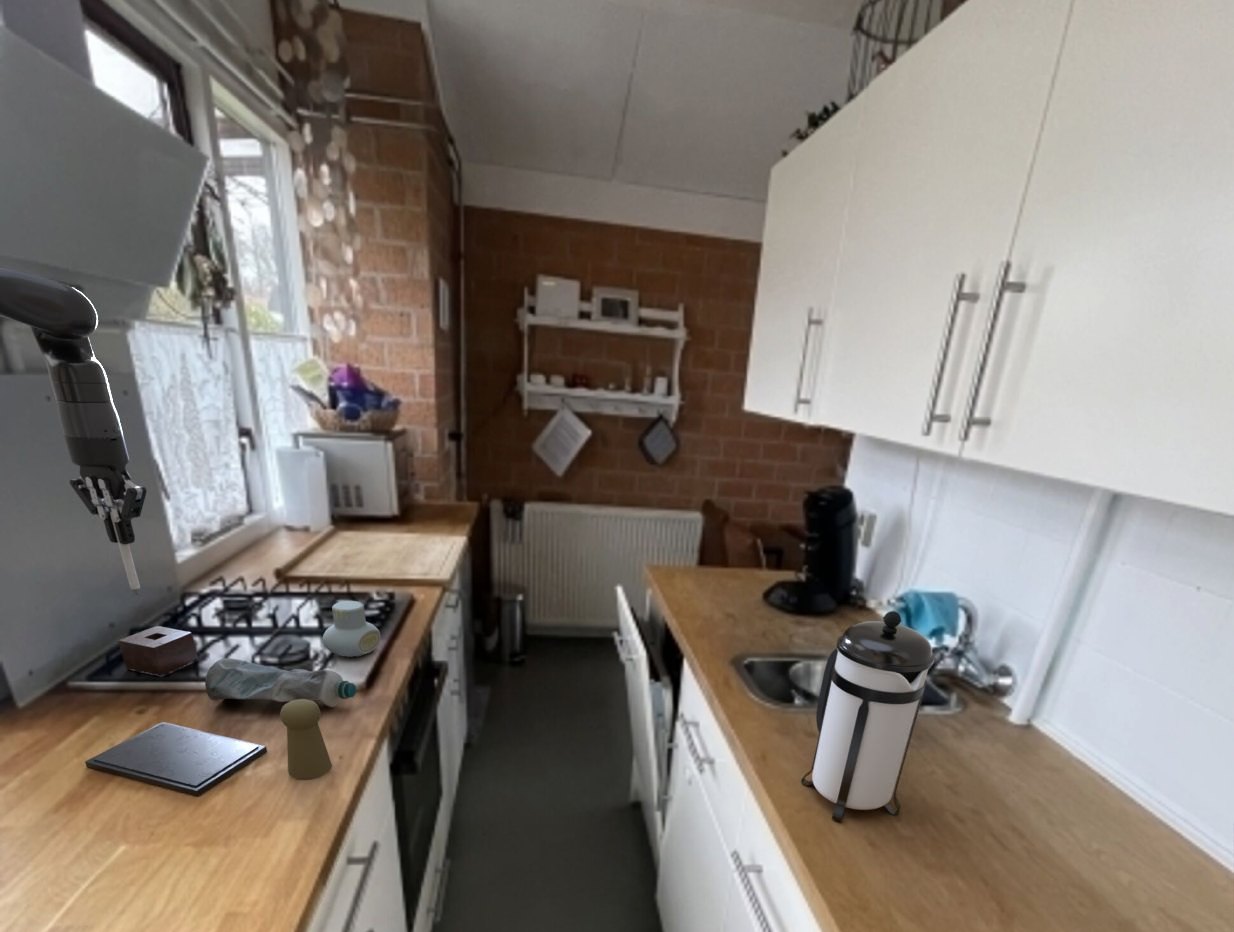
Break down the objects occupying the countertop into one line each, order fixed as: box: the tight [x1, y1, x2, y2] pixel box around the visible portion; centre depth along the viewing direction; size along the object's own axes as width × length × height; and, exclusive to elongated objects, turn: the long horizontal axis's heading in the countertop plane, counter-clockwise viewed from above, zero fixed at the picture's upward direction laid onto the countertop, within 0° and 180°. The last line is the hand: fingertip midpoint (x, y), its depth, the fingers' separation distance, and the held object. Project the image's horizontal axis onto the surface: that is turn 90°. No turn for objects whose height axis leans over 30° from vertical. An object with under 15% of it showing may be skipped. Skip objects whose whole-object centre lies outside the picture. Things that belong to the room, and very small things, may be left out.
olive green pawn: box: [279, 699, 333, 781], centre depth 102 cm, size 6×6×11 cm
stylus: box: [110, 512, 142, 596], centre depth 118 cm, size 1×1×14 cm
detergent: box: [204, 657, 357, 708], centre depth 121 cm, size 13×7×25 cm
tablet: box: [84, 721, 268, 797], centre depth 105 cm, size 20×13×1 cm, turn 73°
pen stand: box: [117, 625, 199, 675], centre depth 131 cm, size 8×8×6 cm
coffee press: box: [800, 610, 936, 823], centre depth 101 cm, size 17×16×30 cm
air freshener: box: [322, 600, 382, 658], centre depth 141 cm, size 11×8×10 cm
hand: (123, 542), depth 117 cm, fingers closed on stylus, 1 cm apart
